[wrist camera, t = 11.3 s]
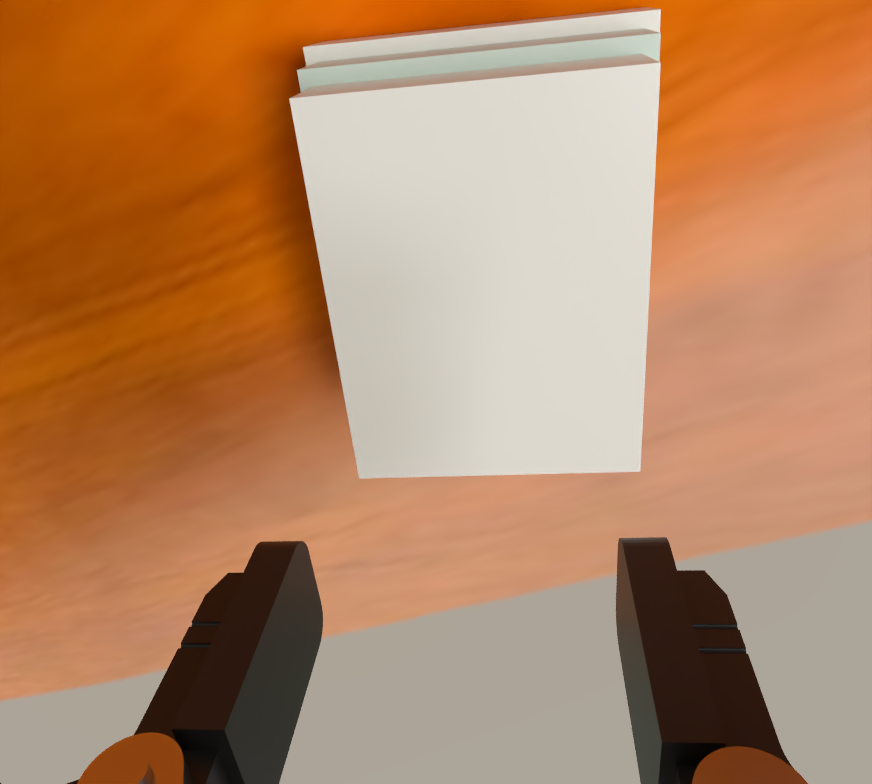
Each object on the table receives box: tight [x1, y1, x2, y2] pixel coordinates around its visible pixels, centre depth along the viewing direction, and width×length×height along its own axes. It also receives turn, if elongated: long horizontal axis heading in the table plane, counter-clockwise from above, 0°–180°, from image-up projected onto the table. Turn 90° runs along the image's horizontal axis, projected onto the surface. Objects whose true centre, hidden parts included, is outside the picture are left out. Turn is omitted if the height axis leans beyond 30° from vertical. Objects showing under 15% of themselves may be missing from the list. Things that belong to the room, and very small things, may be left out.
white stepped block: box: [289, 7, 661, 478], centre depth 26 cm, size 15×12×9 cm
